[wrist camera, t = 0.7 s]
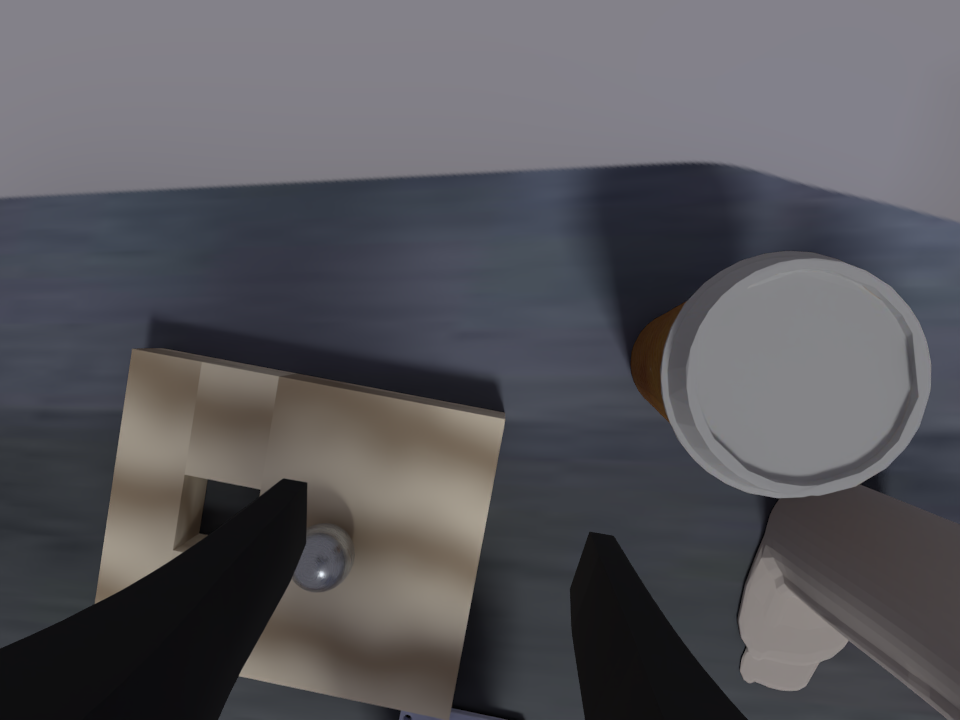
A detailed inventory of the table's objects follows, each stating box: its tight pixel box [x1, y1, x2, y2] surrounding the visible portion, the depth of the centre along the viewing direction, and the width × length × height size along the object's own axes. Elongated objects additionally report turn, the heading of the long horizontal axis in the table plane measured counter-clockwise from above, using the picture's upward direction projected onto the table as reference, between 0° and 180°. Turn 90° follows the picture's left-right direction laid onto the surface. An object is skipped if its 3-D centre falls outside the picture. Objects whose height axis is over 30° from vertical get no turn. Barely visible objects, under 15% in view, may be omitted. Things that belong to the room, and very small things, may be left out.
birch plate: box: [95, 348, 505, 720], centre depth 30 cm, size 18×22×2 cm
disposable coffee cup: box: [631, 251, 931, 498], centre depth 23 cm, size 10×10×12 cm
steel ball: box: [292, 523, 355, 592], centre depth 26 cm, size 4×4×4 cm
